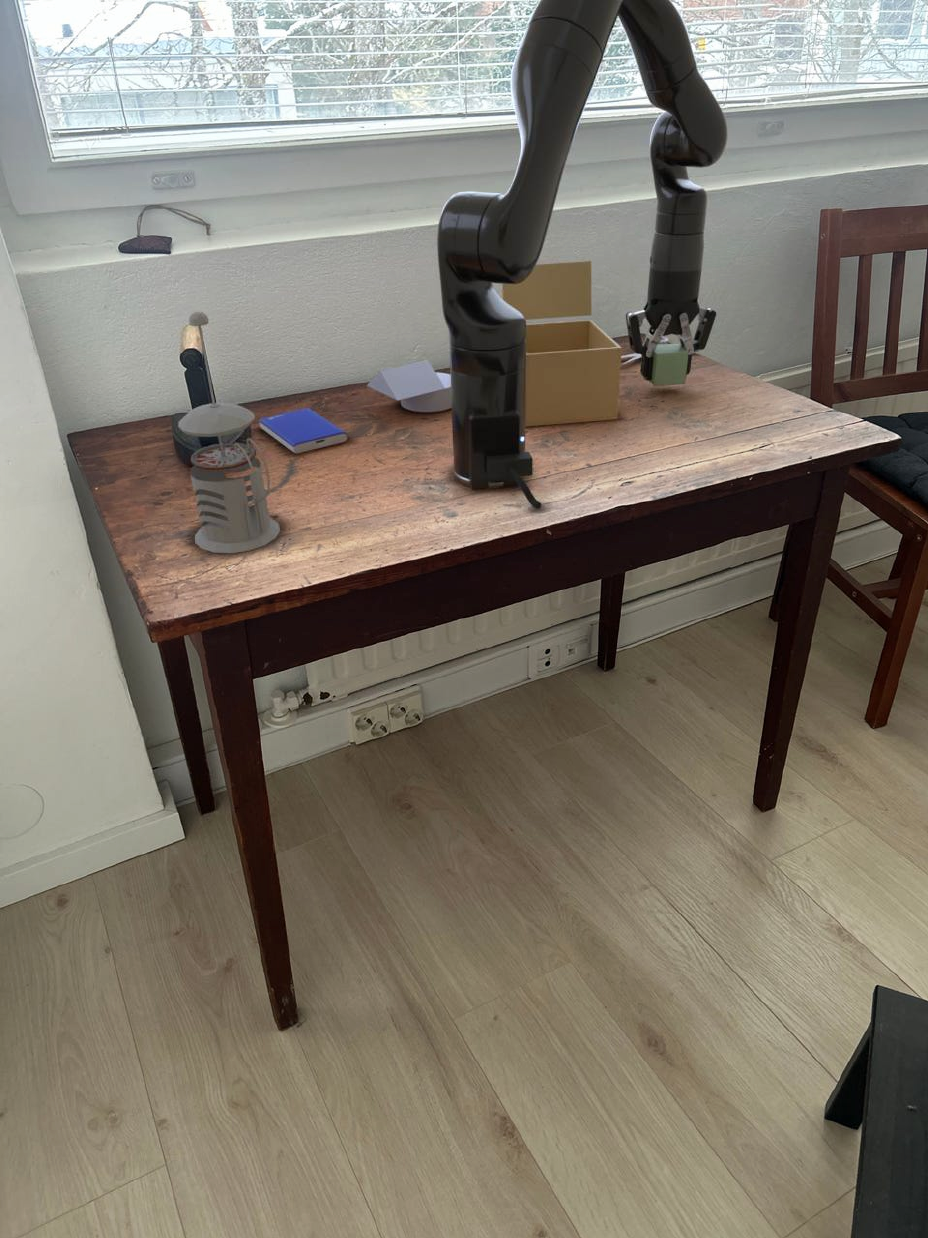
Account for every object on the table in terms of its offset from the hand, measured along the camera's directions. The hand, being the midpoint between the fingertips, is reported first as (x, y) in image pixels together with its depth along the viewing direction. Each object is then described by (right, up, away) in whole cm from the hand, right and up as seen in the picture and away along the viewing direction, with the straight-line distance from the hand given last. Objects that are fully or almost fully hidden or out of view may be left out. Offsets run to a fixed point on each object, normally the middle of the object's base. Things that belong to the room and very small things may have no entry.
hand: (664, 377), depth 141 cm
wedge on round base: (-39, -5, -1) cm, 39 cm away
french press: (-57, -29, -37) cm, 74 cm away
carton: (-17, -5, -3) cm, 18 cm away
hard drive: (-55, -11, -11) cm, 57 cm away
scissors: (+1, +9, +18) cm, 20 cm away
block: (0, 0, 0) cm, 0 cm away
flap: (-19, +12, -4) cm, 23 cm away
